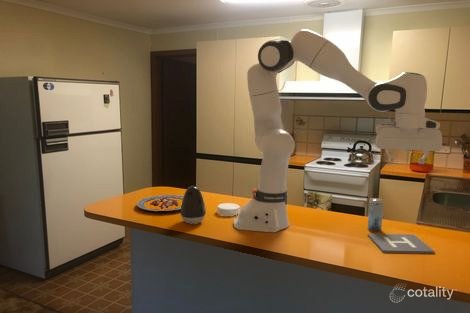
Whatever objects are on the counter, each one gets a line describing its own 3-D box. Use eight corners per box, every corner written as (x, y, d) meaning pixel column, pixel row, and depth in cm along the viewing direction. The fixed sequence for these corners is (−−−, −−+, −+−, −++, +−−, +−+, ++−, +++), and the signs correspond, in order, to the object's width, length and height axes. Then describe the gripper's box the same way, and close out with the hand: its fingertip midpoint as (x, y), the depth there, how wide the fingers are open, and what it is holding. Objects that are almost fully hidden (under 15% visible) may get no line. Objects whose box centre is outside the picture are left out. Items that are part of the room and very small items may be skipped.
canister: (370, 231, 140) (372, 201, 138) (365, 227, 145) (367, 197, 143) (383, 231, 140) (385, 201, 138) (378, 227, 145) (380, 198, 143)
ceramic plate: (125, 207, 168) (125, 201, 167) (167, 196, 188) (167, 190, 188) (163, 219, 153) (163, 212, 152) (204, 205, 173) (204, 199, 172)
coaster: (229, 218, 154) (229, 210, 153) (212, 213, 160) (212, 206, 160) (244, 213, 162) (244, 205, 161) (227, 208, 168) (227, 201, 167)
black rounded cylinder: (176, 225, 145) (175, 188, 143) (187, 217, 155) (186, 182, 152) (199, 228, 142) (199, 190, 140) (209, 219, 152) (209, 184, 149)
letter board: (383, 252, 120) (383, 250, 120) (367, 235, 135) (367, 233, 135) (434, 253, 120) (434, 251, 120) (413, 236, 135) (413, 234, 135)
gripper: (377, 121, 121) (374, 162, 123) (445, 123, 115) (441, 166, 117) (375, 120, 127) (372, 159, 129) (440, 122, 121) (436, 163, 123)
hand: (405, 162), depth 123 cm, fingers open, 8 cm apart
